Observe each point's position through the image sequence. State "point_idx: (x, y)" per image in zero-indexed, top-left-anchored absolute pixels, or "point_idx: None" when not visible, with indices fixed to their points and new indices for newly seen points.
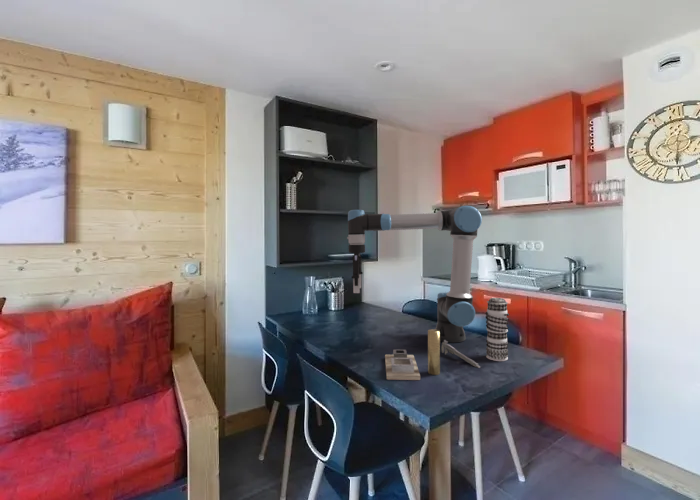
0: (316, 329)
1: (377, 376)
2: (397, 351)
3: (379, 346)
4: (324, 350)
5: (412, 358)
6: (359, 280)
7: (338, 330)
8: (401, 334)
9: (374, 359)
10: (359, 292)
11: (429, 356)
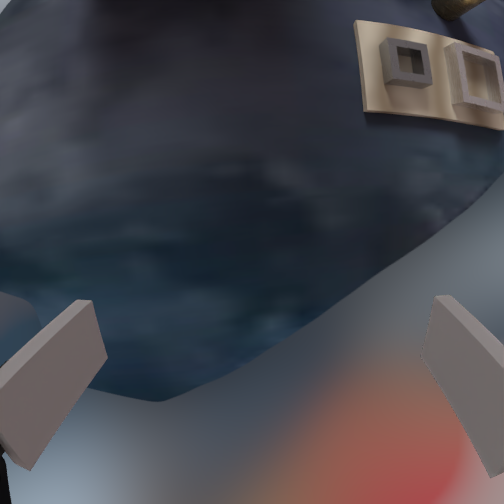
0: None
1: (486, 150)
2: (398, 66)
3: (234, 131)
4: (294, 326)
5: (390, 30)
6: (47, 373)
7: None
8: (85, 71)
9: (378, 148)
10: (452, 298)
11: (476, 5)
